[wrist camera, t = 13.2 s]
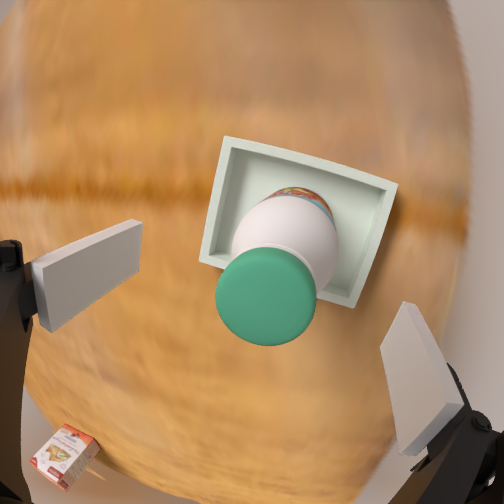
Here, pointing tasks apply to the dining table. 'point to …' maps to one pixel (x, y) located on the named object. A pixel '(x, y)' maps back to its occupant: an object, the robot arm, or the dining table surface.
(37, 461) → the cracker box
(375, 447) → the dining table surface
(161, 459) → the dining table surface
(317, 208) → the milk bottle
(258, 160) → the tray
